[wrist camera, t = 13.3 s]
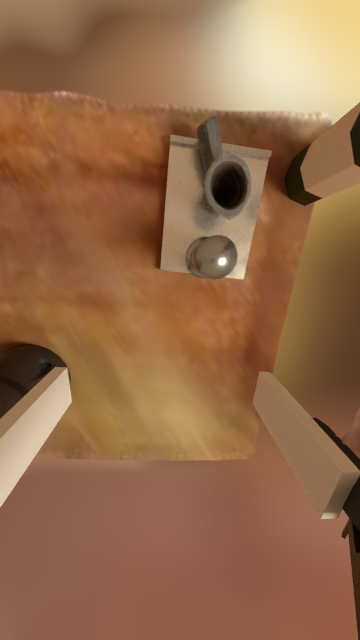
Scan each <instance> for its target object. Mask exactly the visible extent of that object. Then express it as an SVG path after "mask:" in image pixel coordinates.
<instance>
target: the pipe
mask: <svg viewBox="0 0 360 640" xmlns="http://www.w3.org/2000/svg"><path fill="white" fill-rule="evenodd" d="M197 137H198V143H199V147H200V152H201V157H202V162H203V167H204V171H205V180H204V190H205V201H206V204H207V207H208V209H209V210H210V211H211V212H212V213H214V214H216V215H219V216H222V217H224V218H226V219H229V220H231V219H234V218H236V217H237V216H238V215H239V214H240V213H241V212H242V211H243V210H244V209H245V207H246V206H247V204H248V201H249V198H250V194H251V185H252V178H251V173H250V169H249V167H248V165H247V163H246V162H245V161H244V160H243V159H242V158H241V157H239V156H237V155H233V154H226V155H223V151H222V143H221V136H220V127H219V120H218V119H217V117H212V118H209V119H207V120H206V121H204V122H203V123H201V124H200V126H199V127H198V128H197Z"/></svg>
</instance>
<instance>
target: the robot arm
mask: <svg viewBox="0 0 360 640" xmlns="http://www.w3.org/2000/svg"><path fill="white" fill-rule="evenodd" d="M71 402H72V400H71V392H70V373H69V370H68V368H67V366H66V365H65V363H64V362H63V361H62V359H61V358H60V357H58V356H57V355H56V354H55V353H53V352H51V351H50V350H48V349H45V348H43V347H40V346H35V345H21V346H17V347H14V348H12V349H10V350H8V351H7V352H5V353H3V354H2V355H0V507H1V505H2V504H3V503H4V501H5V500H6V498H7V497H8V495H9V494H10V492H11V491H12V489H13V488H14V486H15V485H16V483H17V482H18V480H19V479H20V477H21V476H22V475H23V473H24V472H25V470H26V469H27V467H28V466H29V464H30V463H31V461H32V460H33V458H34V457H35V455H36V454H37V452H38V451H39V449H40V448H41V446H42V445H43V444H44V442H45V441H46V439H47V438H48V436H49V435H50V433H51V432H52V430H53V429H54V427H55V426H56V424H57V423H58V421H59V420H60V418H61V417H62V416H63V414H64V413H65V411H66V410H67V408H68V407H69V405H70V404H71ZM253 405H254V407H255V408H256V410H257V412H258V414H259V415H260V417H261V419H262V420H263V422H264V424H265V425H266V427H267V429H268V430H269V432H270V434H271V436H272V437H273V439H274V440H275V442H276V444H277V446H278V447H279V449H280V451H281V453H282V454H283V456H284V458H285V459H286V461H287V463H288V464H289V466H290V468H291V469H292V471H293V473H294V475H295V476H296V478H297V480H298V481H299V483H300V485H301V486H302V488H303V490H304V491H305V493H306V495H307V497H308V498H309V500H310V502H311V503H312V505H313V507H314V508H315V510H316V512H317V513H318V515H319V517H320V518H321V519H332V518H333V519H334V518H338V517H339V515H340V513H341V511H342V509H343V510H344V511H345V513H346V514H347V515H348V517H349V520H348V522H347V524H346V526H345V528H344V530H343V532H342V537H343V538H344V539H345V538H346V536H347V534H348V535H349V545H350V556H351V566H352V577H353V587H354V598H355V609H356V619H357V630H358V639H359V640H360V459H359V458H358V457H357V456H356V455H355V454H354V453H353V452H352V451H351V449H350V448H349V447H348V446H347V445H346V444H344V442H343V441H342V440H341V439H340V438H339V437H337V436H336V434H335V433H334V432H333V431H332V430H331V429H330V428H329V427H328V426H327V425H326V424H324V423H323V422H322V421H320V420H319V419H317V418H311V417H310V415H309V414H307V412H306V411H305V410H304V409H303V408H302V407H301V406H300V405H299V403H298V402H296V400H295V399H294V398H293V397H292V396H291V395H290V394H289V393H288V391H287V390H286V389H285V388H284V387H283V386H282V385H281V384H280V383H279V381H278V380H277V379H276V378H275V377H274V376H273V375H272V374H271V373H270V372H259V377H258V381H257V386H256V390H255V395H254V399H253Z"/></svg>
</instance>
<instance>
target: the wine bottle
mask: <svg viewBox="0 0 360 640" xmlns="http://www.w3.org/2000/svg"><path fill="white" fill-rule="evenodd" d="M285 183H286V187H287V191H288V195H289V199H291V200H293V201H296V202H298V203H300V204H302V205H304V206H305V205H307V204H310V203H312V202H315V201H317V200H320V199H322V198H325V197H327V196H329V195H332V194H334V193H337V192H339V191H342V190H344V189H346V188H349V187H351V186H353V185H356V184H359V183H360V103H359V104H357V105H356V106H355V107H354V108H353V109H351V110H350V111H349V112H348V113H347V114H346V115H344V116H343V117H342V118H341V119H340V120H338V122H336V123H335V124H334V125H332V126H331V127H330V128H329V129H328V130H327V131H325V132H324V133H323V134H322V135H321V136H319V137H318V138H317V139H316V140H315V141H313V142H312V143H311V144H310V145H309V146H308V147H306V148H305V149H304V150H303V151H302V152H300V153H299V154H298V155H297V156H296V157H294V159H293V161H292V163H291V166H290V168H289V170H288V172H287V175H286V177H285Z"/></svg>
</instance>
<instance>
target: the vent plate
mask: <svg viewBox="0 0 360 640" xmlns="http://www.w3.org/2000/svg"><path fill="white" fill-rule="evenodd" d="M222 151H223V155H226V154H233V155H237V156H239V157H241V158H242V159H243V160H244V161H245V162H246V163H247V165H248V167H249V169H250V173H251V178H252V185H251V194H250V198H249V201H248V204H247V206H246V207H245V209H244V210H243V211H242V212H241V213H240V214H239V215H238V216H237V217H236V218H234V219H231V220H229V219H226V218H224V217H222V216H219V215H216V214H214V213H212V212H211V211H210V210H209V209H208V207H207V204H206V201H205V190H204V180H205V171H204V167H203V162H202V157H201V152H200V147H199V143H198V139H196V138H190V137H184V136H177V135H171V134H170V151H169V163H168V176H167V189H166V202H165V215H164V228H163V241H162V254H161V267H160V270H165V271H173V272H182V273H191V274H193V275H195V276H196V277H199V278H211V279H220V278H223V277H226V278H235V279H244V274H245V270H246V265H247V260H248V255H249V251H250V246H251V241H252V237H253V232H254V227H255V222H256V218H257V213H258V208H259V204H260V199H261V194H262V189H263V185H264V180H265V175H266V170H267V166H268V161H269V158H270V157H271V154H272V151H270V150H264V149H258V148H251V147H245V146H239V145H233V144H227V143H222Z"/></svg>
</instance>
